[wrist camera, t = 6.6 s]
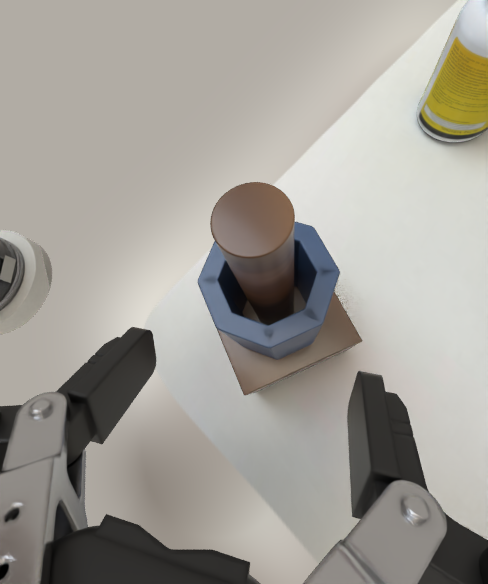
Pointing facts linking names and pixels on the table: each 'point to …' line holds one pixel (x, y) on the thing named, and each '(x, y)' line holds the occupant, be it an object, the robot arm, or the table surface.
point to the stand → (270, 282)
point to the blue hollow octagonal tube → (286, 332)
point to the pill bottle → (459, 80)
